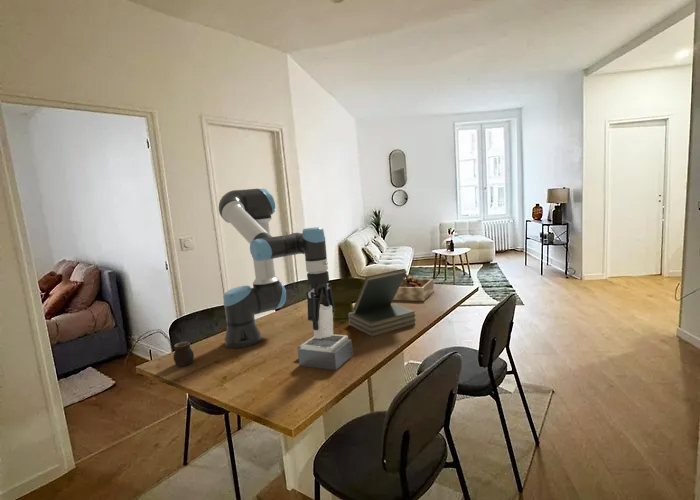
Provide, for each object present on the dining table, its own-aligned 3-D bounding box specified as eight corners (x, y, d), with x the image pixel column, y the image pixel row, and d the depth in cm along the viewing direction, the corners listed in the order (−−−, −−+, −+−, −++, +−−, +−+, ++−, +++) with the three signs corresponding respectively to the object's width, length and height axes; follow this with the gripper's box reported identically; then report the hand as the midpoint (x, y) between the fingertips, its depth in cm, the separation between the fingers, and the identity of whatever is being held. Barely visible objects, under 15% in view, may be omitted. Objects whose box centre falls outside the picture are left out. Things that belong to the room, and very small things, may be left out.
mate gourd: (179, 360, 155) (176, 336, 154) (198, 359, 155) (195, 335, 154) (170, 368, 148) (167, 343, 147) (190, 367, 148) (187, 341, 146)
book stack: (390, 314, 190) (386, 264, 187) (416, 324, 173) (412, 268, 170) (349, 325, 180) (344, 272, 176) (371, 337, 162) (366, 278, 159)
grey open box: (290, 364, 142) (287, 344, 141) (309, 350, 154) (307, 331, 153) (336, 370, 134) (334, 349, 133) (353, 355, 145) (351, 335, 144)
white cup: (332, 338, 137) (329, 310, 135) (310, 339, 138) (307, 311, 137) (337, 330, 144) (334, 304, 143) (316, 331, 146) (313, 305, 145)
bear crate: (386, 299, 217) (385, 287, 216) (399, 289, 236) (398, 278, 235) (423, 300, 208) (423, 287, 207) (433, 290, 226) (433, 278, 225)
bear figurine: (406, 299, 214) (404, 277, 212) (399, 293, 229) (398, 272, 227) (430, 296, 215) (429, 275, 214) (422, 290, 230) (421, 270, 228)
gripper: (311, 278, 128) (318, 345, 131) (340, 265, 146) (346, 325, 149) (292, 277, 131) (299, 343, 134) (322, 266, 149) (328, 324, 152)
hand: (324, 333), depth 141 cm, fingers closed on white cup, 7 cm apart
